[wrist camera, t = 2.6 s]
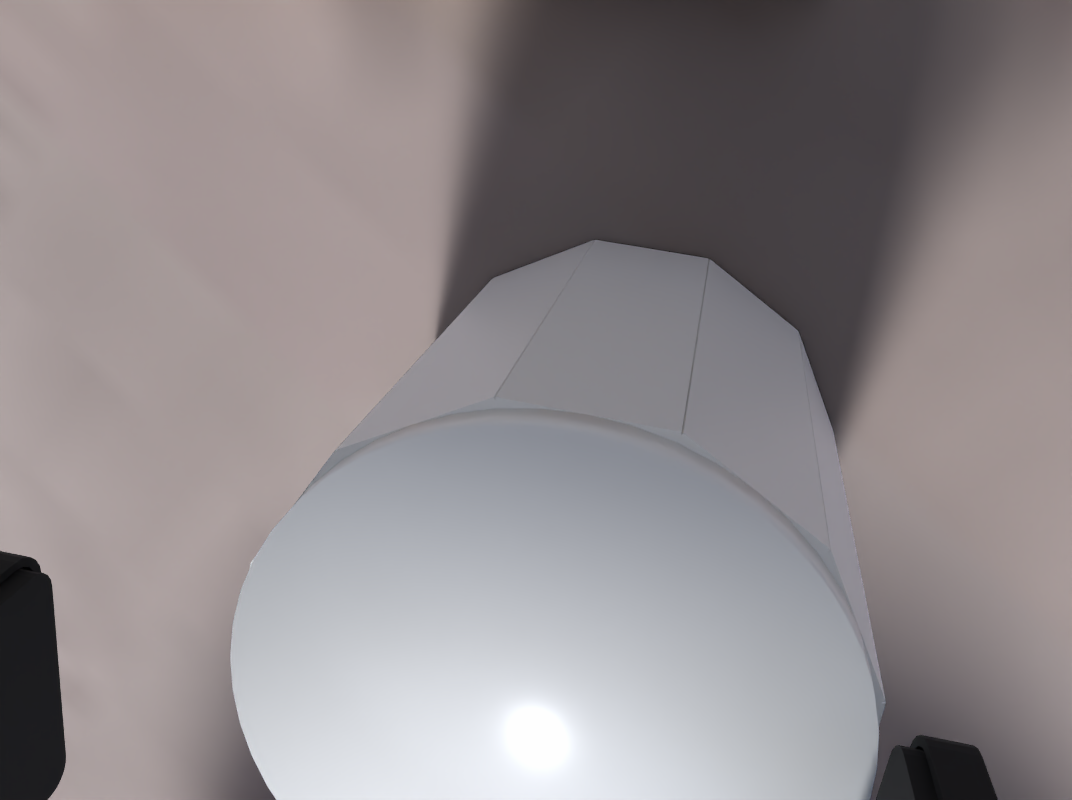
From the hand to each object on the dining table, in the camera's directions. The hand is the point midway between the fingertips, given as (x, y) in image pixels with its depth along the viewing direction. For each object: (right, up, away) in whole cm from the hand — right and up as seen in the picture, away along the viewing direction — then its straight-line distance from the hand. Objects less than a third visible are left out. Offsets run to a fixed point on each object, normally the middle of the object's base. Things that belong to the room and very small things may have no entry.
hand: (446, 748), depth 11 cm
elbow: (+2, +1, +8) cm, 9 cm away
